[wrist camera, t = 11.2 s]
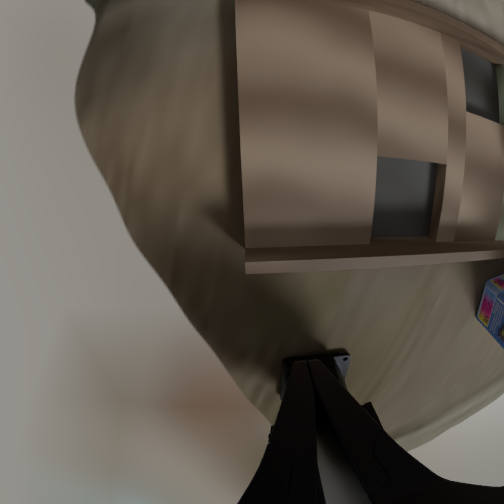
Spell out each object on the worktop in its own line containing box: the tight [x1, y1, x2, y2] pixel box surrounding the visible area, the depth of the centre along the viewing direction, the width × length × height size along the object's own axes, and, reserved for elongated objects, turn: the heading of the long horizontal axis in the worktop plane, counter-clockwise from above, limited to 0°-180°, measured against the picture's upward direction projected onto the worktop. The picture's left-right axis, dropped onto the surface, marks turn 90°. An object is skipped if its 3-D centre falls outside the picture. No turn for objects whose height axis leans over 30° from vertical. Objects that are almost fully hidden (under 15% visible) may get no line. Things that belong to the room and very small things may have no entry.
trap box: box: [235, 0, 504, 274], centre depth 14 cm, size 18×29×4 cm, turn 92°
